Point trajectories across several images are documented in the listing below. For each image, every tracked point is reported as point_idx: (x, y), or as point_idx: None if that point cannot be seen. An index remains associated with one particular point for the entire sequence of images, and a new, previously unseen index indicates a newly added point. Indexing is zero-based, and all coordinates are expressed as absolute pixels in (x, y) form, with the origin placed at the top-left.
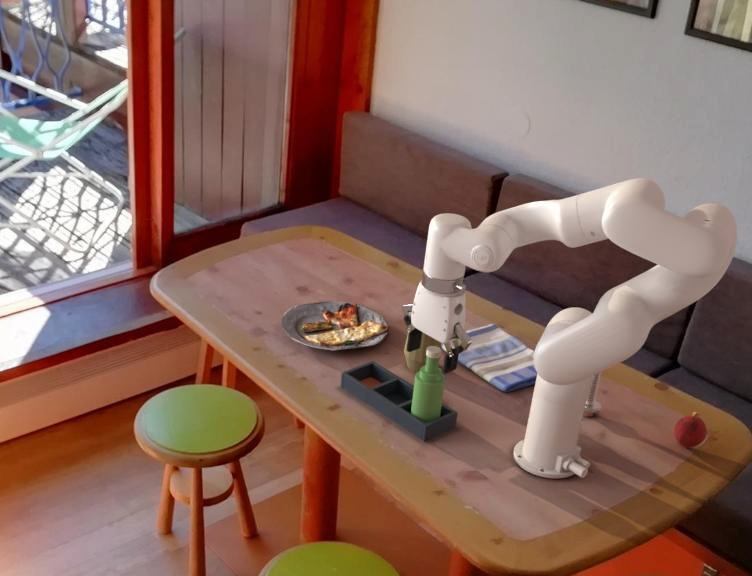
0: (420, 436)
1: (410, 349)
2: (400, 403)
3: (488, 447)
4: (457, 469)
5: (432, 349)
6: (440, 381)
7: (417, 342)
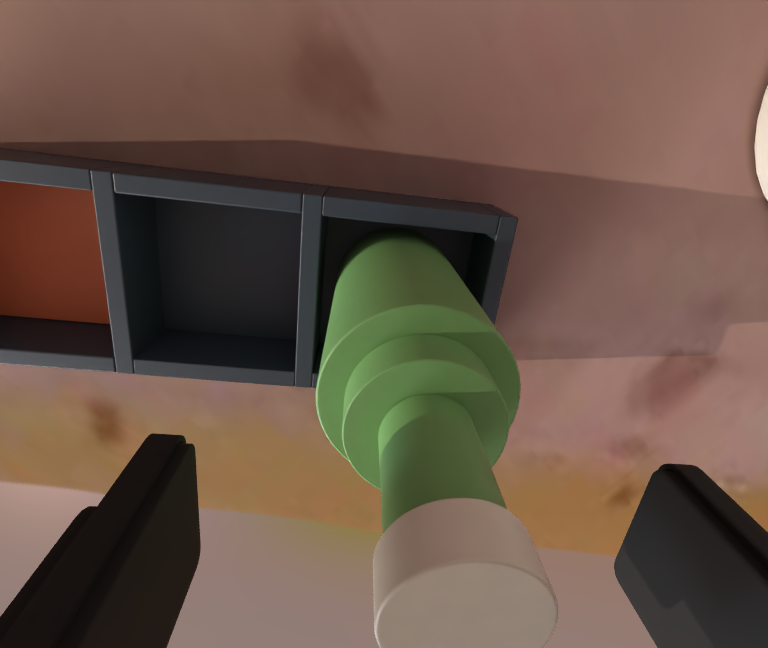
0: None
1: (192, 573)
2: (227, 238)
3: (653, 209)
4: (618, 389)
5: (453, 635)
6: (501, 394)
7: (162, 551)
